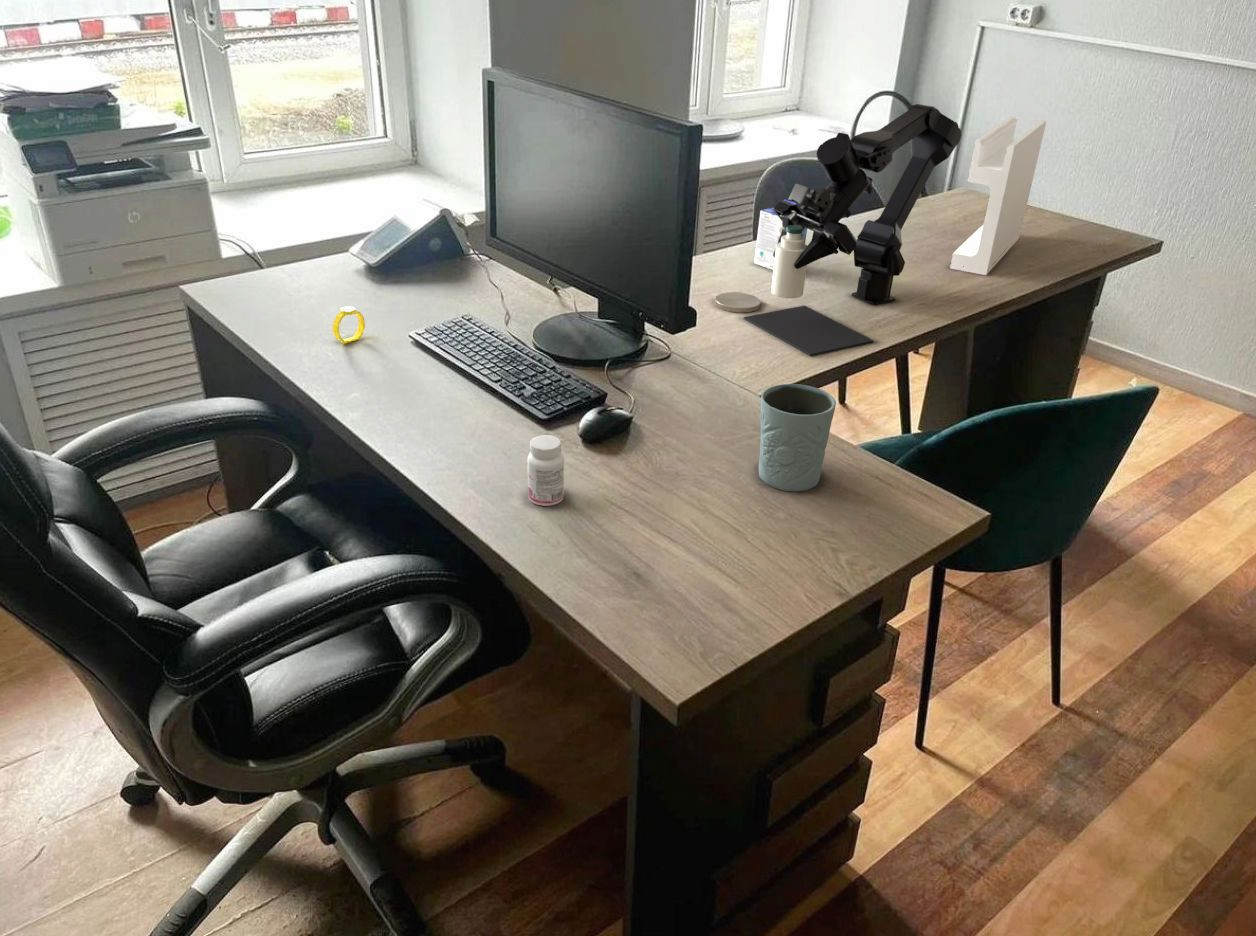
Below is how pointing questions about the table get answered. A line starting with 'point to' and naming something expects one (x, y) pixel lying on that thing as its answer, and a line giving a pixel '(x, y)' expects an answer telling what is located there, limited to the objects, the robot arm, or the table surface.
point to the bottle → (789, 264)
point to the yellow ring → (338, 318)
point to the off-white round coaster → (737, 302)
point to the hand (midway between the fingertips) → (784, 262)
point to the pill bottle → (545, 471)
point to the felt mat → (808, 330)
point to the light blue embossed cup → (794, 435)
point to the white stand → (1000, 193)
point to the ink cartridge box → (769, 237)
